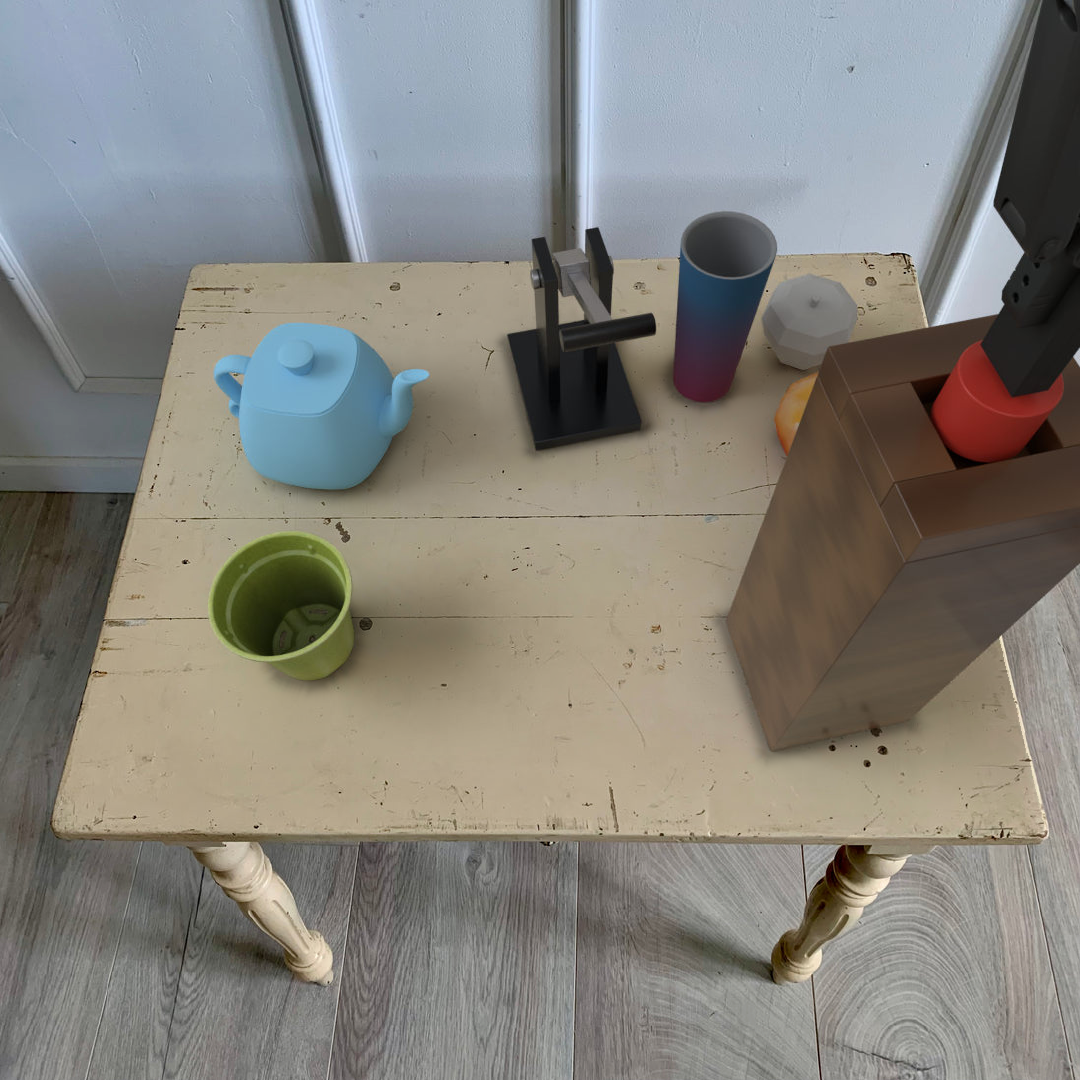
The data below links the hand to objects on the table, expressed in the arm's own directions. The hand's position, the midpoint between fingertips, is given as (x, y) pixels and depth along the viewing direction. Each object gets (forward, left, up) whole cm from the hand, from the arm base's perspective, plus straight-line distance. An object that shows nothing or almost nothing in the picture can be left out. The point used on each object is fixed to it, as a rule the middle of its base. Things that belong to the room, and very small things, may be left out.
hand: (1013, 366), depth 34 cm
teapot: (+28, +31, -33) cm, 53 cm away
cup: (+27, 0, -33) cm, 43 cm away
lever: (+24, +11, -19) cm, 32 cm away
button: (0, 0, -4) cm, 4 cm away
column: (0, 0, -33) cm, 33 cm away
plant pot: (+10, +35, -33) cm, 49 cm away
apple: (+28, -9, -33) cm, 44 cm away
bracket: (+29, +11, -33) cm, 45 cm away
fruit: (+18, -7, -33) cm, 38 cm away
